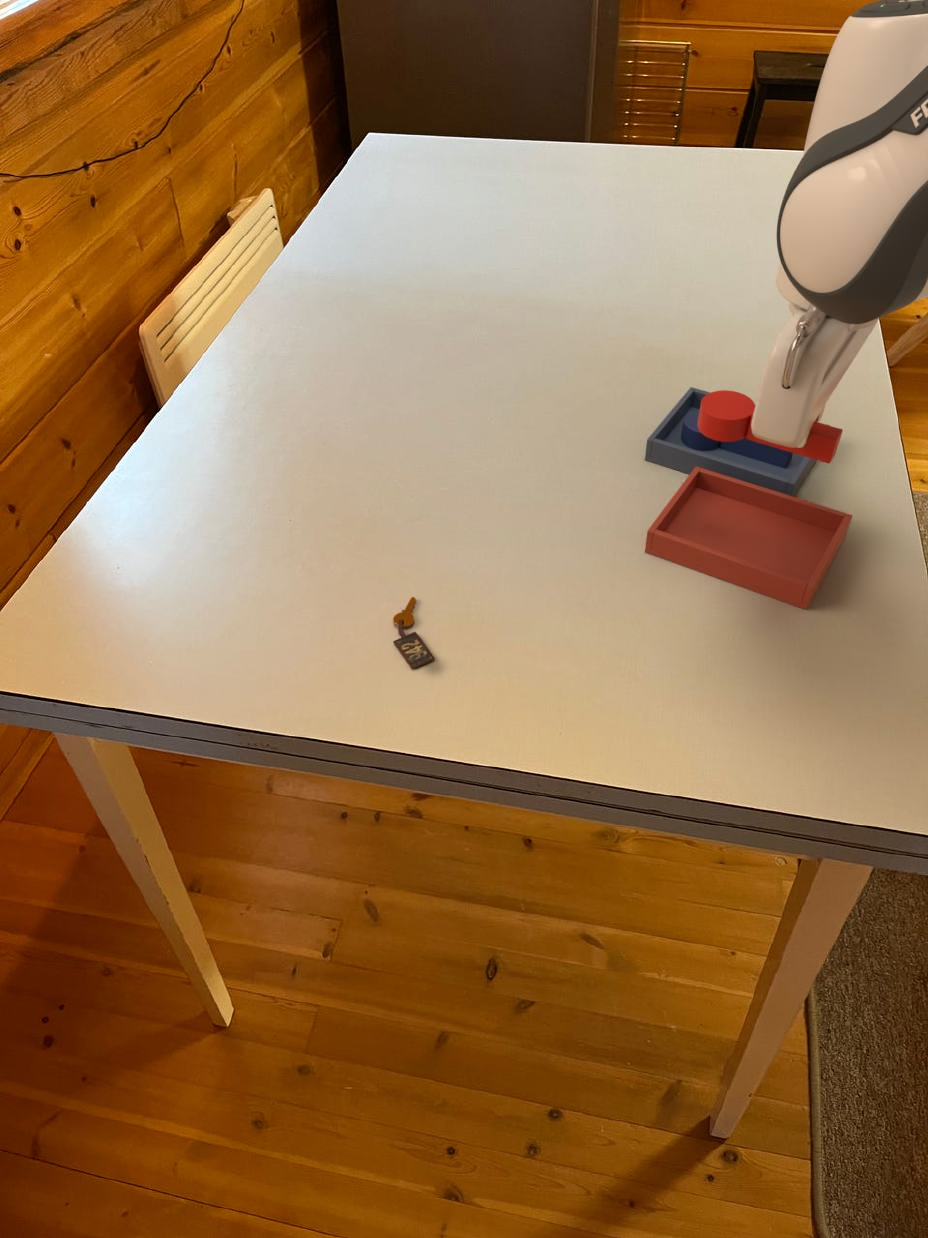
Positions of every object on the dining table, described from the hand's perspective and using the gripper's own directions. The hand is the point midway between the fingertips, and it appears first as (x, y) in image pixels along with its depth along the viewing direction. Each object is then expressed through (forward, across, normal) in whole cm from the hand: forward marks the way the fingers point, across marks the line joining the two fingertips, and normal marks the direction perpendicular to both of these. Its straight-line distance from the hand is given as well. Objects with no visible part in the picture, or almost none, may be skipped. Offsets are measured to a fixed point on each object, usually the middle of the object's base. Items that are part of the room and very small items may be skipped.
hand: (801, 432), depth 75 cm
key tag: (+14, -24, +22) cm, 36 cm away
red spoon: (+2, 0, +2) cm, 3 cm away
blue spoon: (+13, +14, +8) cm, 21 cm away
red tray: (+14, +1, +2) cm, 14 cm away
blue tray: (+14, +14, +8) cm, 21 cm away
